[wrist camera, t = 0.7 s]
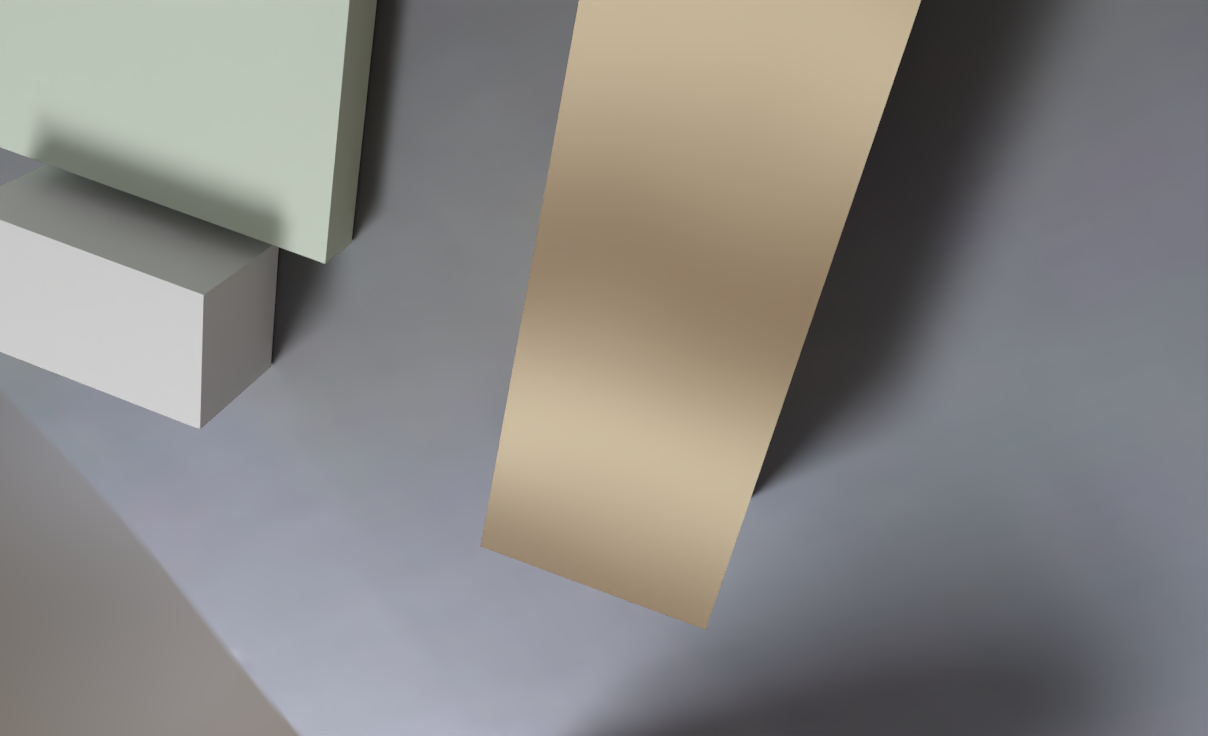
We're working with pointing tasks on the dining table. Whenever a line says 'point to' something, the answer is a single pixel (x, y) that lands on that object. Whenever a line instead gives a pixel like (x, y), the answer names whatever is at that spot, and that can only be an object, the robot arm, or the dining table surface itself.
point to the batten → (679, 278)
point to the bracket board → (172, 183)
